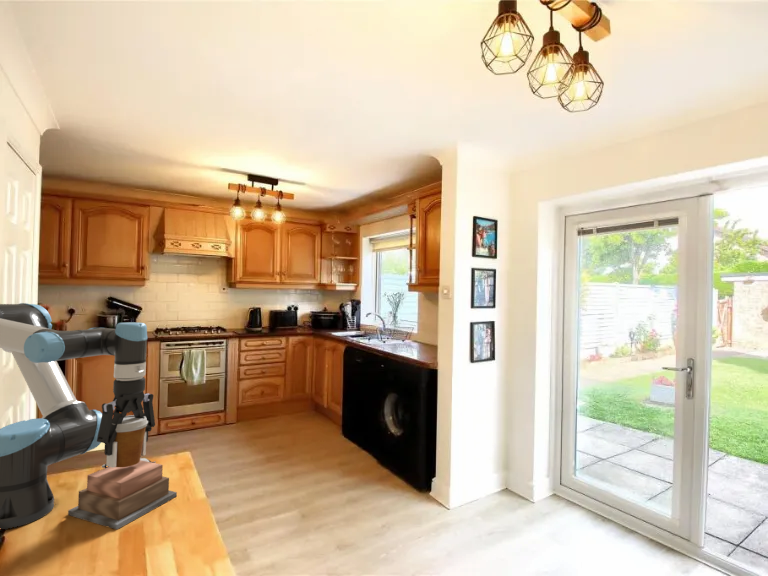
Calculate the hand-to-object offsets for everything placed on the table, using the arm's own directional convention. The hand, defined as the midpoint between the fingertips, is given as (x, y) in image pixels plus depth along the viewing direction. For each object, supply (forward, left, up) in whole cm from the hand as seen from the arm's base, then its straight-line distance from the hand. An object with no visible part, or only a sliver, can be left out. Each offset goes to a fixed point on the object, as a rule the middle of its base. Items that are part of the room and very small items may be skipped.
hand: (126, 460), depth 111 cm
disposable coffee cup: (0, 0, -1) cm, 1 cm away
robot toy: (-18, +15, -13) cm, 27 cm away
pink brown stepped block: (0, 0, -12) cm, 12 cm away
